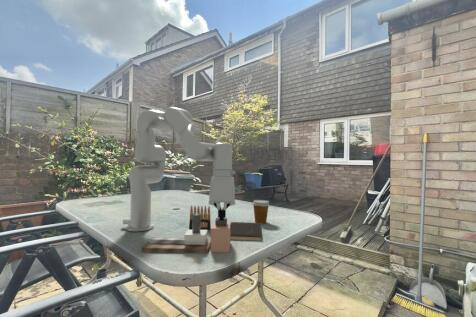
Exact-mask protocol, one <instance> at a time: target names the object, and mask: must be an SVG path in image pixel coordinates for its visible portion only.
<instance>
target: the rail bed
mask: <svg viewBox="0 0 476 317" xmlns="http://www.w3.org/2000/svg"><path fill="white" fill-rule="evenodd" d="M210 249H211V237H209V238H208V237H207V239H206V244H205V245H185V242H184V237H150V239H149V241H148V242H146V243H145V244H144V245H143V246H142V247H141V253H185V254H186V253H190V254H192V253H193V254H194V253H195V254H208V253H209V251H210Z"/></svg>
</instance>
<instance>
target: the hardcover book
mask: <svg viewBox="0 0 476 317" xmlns="http://www.w3.org/2000/svg"><path fill="white" fill-rule="evenodd" d="M230 222H231V225H230V240H235V241H236V240H238V241H239V240H240V241H261V238H262V228H261V224H260V223H256V222H243V221H242V222H241V221H240V222H239V221H238V222H237V221H230Z"/></svg>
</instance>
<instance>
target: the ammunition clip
mask: <svg viewBox="0 0 476 317" xmlns="http://www.w3.org/2000/svg"><path fill="white" fill-rule="evenodd" d="M196 206H197V207H196ZM210 206H211V205H208V206H207V205H205V206H204V207H203V205H201V206H200V205H194V207H193V205H192V204H191V206H190V210H189V211H190V212H189V223H188V224H189V225H188V230H192V221H193V214H201V225H200V230H207V231H211V228H212V226H211V225H212V222H211V207H210Z"/></svg>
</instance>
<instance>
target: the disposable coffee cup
mask: <svg viewBox="0 0 476 317" xmlns="http://www.w3.org/2000/svg"><path fill="white" fill-rule="evenodd" d="M252 206H253V214H254V223H263V224H266V223H267V220H268V212H269V206H270V201H269V200H266V199H254V200H253V202H252Z"/></svg>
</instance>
